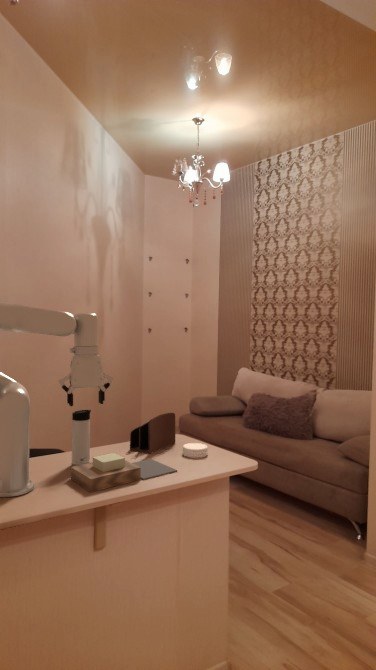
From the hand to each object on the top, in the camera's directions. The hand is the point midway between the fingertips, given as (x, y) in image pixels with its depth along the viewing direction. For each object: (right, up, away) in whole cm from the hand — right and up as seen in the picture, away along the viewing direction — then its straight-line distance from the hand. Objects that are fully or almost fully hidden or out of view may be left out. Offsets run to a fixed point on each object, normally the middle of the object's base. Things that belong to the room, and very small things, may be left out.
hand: (86, 404), depth 143 cm
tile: (+7, -20, +3) cm, 21 cm away
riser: (+6, -25, +3) cm, 26 cm away
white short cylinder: (+36, -25, +32) cm, 54 cm away
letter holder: (+18, -25, +42) cm, 52 cm away
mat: (+19, -25, +13) cm, 34 cm away
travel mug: (-6, -25, +16) cm, 30 cm away
